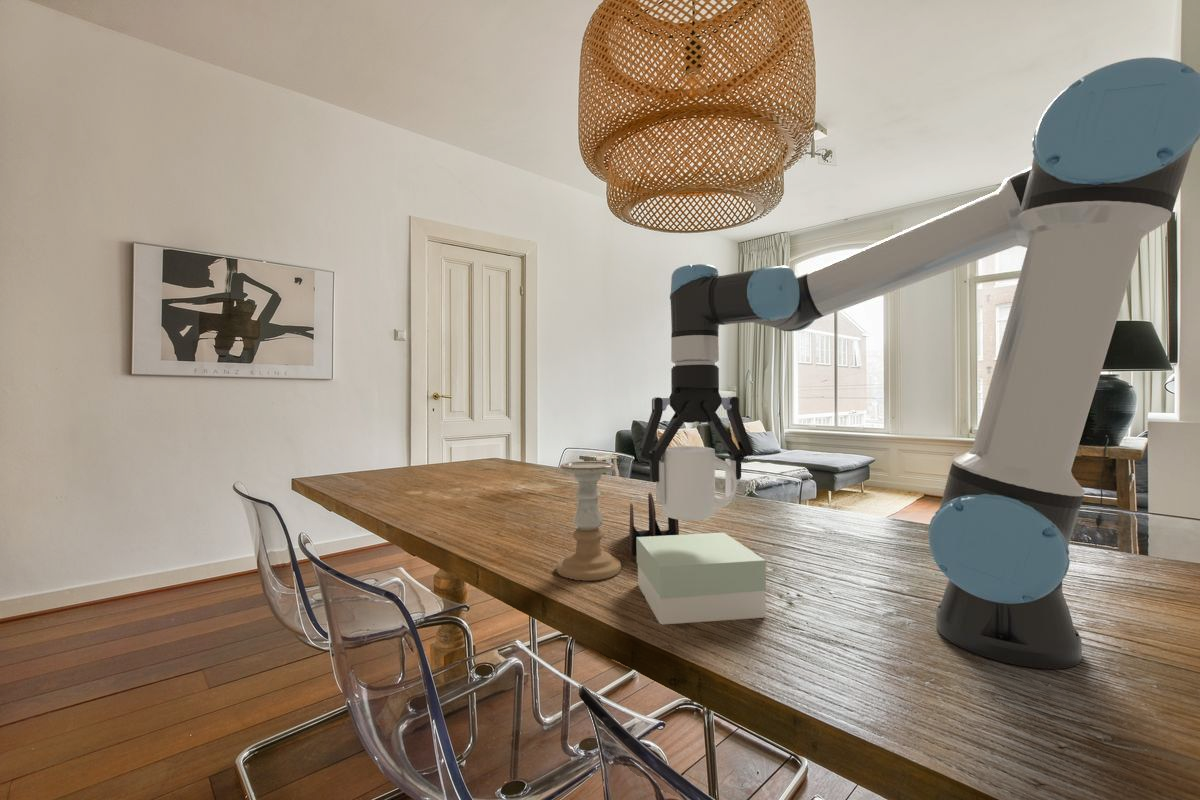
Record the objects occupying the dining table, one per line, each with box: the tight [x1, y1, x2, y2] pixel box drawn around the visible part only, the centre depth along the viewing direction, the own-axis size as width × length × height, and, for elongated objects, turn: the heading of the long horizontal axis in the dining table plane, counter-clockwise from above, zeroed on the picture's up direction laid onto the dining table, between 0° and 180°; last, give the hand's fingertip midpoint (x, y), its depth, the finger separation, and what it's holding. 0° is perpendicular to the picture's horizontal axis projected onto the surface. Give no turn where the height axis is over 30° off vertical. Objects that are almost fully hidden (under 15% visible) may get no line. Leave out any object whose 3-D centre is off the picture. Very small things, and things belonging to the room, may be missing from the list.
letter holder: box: [628, 492, 680, 562], centre depth 113 cm, size 10×20×14 cm, turn 177°
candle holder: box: [555, 460, 622, 582], centre depth 99 cm, size 12×12×20 cm
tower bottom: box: [637, 565, 767, 625], centre depth 84 cm, size 16×16×4 cm
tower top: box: [636, 532, 767, 598], centre depth 84 cm, size 16×16×4 cm
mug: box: [660, 445, 738, 521], centre depth 83 cm, size 9×12×11 cm
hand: (695, 501), depth 84 cm, fingers closed on mug, 11 cm apart
